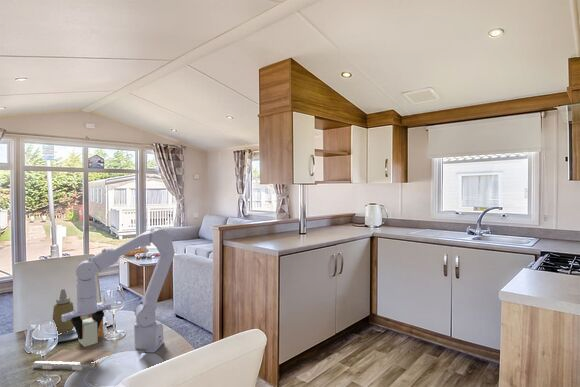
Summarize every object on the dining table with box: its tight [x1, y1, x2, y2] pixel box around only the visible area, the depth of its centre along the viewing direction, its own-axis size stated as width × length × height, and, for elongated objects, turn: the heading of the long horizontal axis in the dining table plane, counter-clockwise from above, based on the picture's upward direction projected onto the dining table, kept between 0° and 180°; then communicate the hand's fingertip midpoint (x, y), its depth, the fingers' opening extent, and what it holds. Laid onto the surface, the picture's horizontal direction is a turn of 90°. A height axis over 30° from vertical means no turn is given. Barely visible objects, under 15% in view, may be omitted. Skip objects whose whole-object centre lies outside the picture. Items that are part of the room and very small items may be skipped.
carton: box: [77, 318, 99, 347], centre depth 113 cm, size 4×6×7 cm, turn 49°
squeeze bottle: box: [52, 288, 75, 334], centre depth 135 cm, size 8×8×18 cm
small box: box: [80, 301, 104, 338], centre depth 130 cm, size 8×6×13 cm
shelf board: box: [33, 348, 116, 371], centre depth 111 cm, size 20×12×3 cm, turn 86°
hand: (87, 335), depth 113 cm, fingers closed on carton, 4 cm apart
